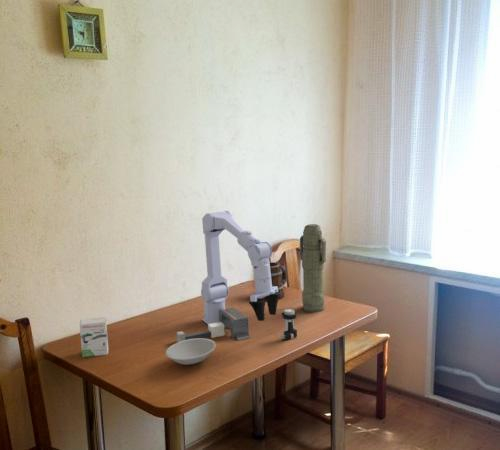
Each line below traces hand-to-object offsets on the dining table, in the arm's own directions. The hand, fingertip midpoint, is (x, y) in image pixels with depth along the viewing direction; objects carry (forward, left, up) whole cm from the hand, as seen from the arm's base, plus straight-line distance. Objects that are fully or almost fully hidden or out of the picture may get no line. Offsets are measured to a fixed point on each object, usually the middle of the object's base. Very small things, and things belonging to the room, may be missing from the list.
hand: (267, 317), depth 175 cm
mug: (-48, +29, -10) cm, 57 cm away
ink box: (-24, -54, -10) cm, 60 cm away
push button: (-2, +9, -10) cm, 14 cm away
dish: (0, -28, -10) cm, 30 cm away
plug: (-18, -18, -10) cm, 27 cm away
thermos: (-24, +34, -10) cm, 43 cm away
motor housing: (-18, -5, -10) cm, 21 cm away
